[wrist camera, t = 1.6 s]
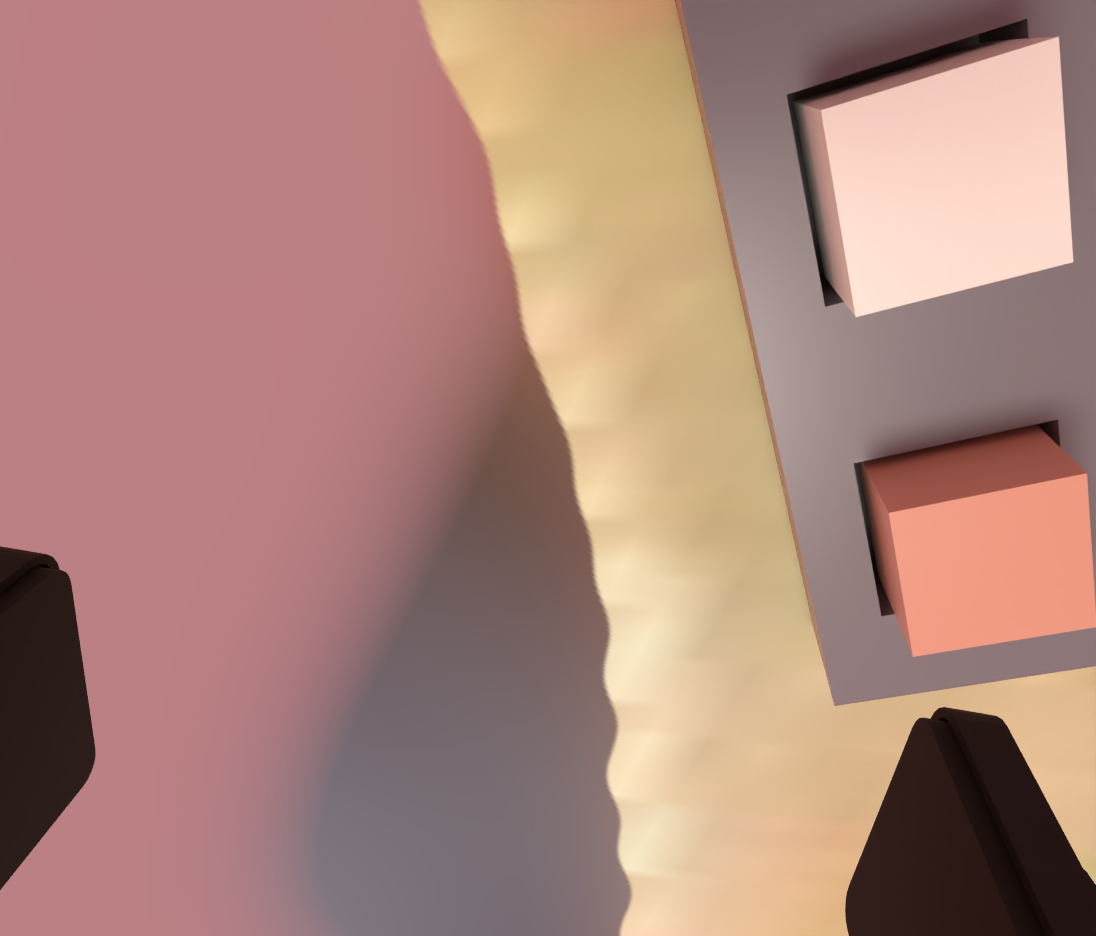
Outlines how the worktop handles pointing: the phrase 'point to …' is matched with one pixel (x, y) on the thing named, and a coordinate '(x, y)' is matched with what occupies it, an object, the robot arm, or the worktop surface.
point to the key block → (890, 310)
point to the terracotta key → (982, 540)
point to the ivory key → (940, 174)
